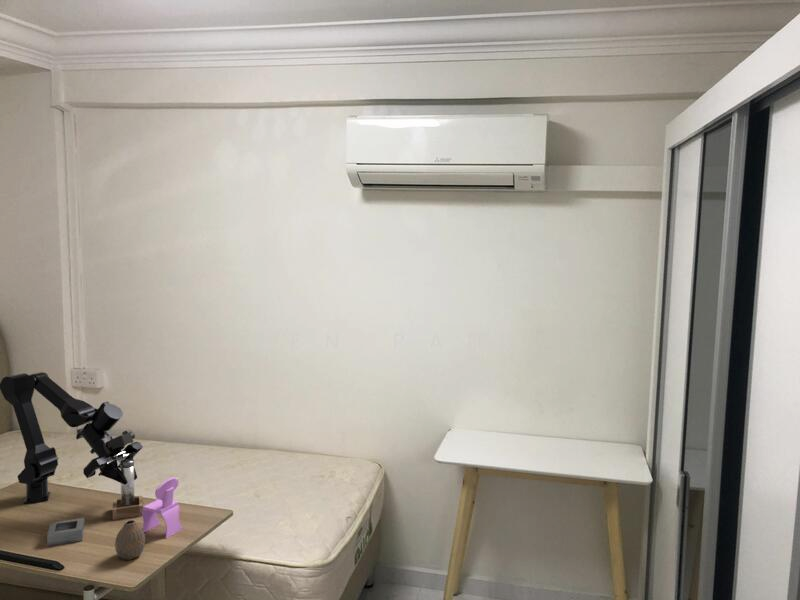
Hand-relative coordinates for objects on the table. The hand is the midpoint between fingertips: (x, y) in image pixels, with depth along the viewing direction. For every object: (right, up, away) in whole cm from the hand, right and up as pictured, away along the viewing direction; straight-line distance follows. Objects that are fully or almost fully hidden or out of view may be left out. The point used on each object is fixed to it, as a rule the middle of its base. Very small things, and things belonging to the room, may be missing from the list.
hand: (131, 481), depth 174 cm
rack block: (-1, -9, +1) cm, 10 cm away
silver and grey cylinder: (-1, -7, +1) cm, 7 cm away
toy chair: (+13, -11, -11) cm, 20 cm away
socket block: (-11, -10, -15) cm, 21 cm away
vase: (+11, -11, -25) cm, 29 cm away
